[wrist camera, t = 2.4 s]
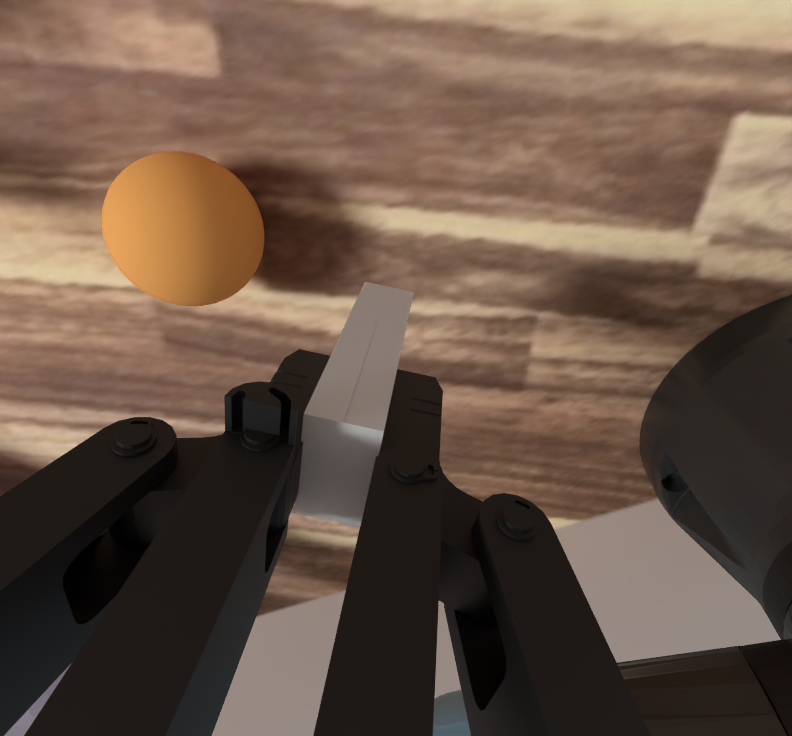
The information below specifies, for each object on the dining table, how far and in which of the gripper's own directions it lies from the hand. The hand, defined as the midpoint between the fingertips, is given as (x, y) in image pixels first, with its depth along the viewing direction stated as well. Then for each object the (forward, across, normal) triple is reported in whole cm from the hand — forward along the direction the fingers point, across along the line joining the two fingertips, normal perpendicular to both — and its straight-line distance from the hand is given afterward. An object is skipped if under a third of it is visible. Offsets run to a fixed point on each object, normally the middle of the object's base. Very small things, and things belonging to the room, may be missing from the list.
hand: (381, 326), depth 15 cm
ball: (+5, +9, 0) cm, 10 cm away
